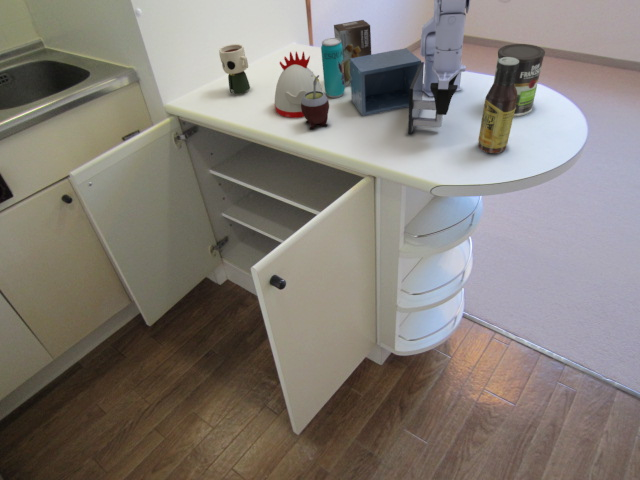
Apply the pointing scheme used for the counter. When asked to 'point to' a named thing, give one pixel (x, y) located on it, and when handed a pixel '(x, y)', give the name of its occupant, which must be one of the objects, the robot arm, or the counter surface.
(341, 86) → the beverage can
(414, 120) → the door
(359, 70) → the blue-gray cabinet body
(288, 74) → the white chicken figure
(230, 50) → the character mug
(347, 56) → the coffee box
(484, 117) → the sauce bottle
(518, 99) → the coffee can
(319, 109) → the mate gourd
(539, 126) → the counter surface
